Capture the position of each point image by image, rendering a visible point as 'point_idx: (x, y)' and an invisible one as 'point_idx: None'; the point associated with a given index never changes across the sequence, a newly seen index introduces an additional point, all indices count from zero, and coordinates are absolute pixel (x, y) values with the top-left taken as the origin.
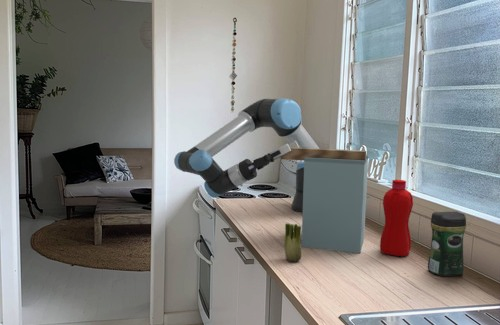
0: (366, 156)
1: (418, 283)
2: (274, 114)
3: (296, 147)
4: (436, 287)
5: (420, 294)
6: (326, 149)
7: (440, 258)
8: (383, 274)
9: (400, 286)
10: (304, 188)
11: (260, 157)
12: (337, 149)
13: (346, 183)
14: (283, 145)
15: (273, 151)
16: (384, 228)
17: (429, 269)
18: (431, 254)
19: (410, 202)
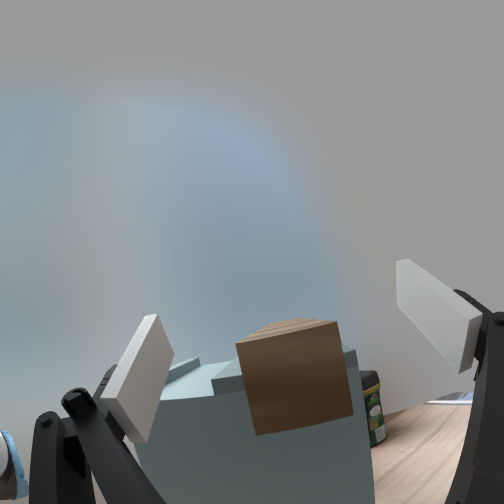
0: (198, 359)
1: (425, 434)
2: None
3: (168, 357)
4: (422, 426)
5: (454, 420)
6: (284, 323)
7: (383, 418)
8: (428, 456)
9: (450, 433)
10: (371, 470)
11: (476, 468)
12: (265, 326)
13: None
14: (419, 267)
15: (467, 305)
16: None
17: (377, 442)
18: (375, 425)
19: None
